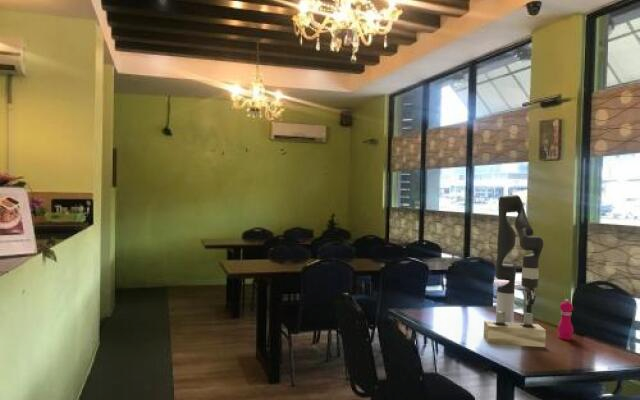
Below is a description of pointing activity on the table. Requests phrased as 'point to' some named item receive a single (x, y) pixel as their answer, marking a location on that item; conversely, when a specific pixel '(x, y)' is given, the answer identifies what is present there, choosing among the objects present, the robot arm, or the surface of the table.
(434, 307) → the table surface
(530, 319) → the peg
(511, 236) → the robot arm
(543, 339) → the collar block
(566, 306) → the pepper mill
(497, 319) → the peg
